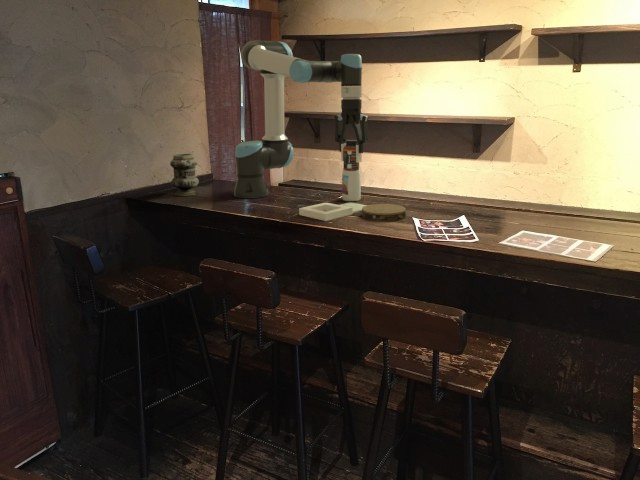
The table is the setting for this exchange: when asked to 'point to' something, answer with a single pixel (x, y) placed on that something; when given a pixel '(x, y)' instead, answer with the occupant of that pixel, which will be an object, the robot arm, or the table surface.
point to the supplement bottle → (350, 156)
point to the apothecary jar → (184, 173)
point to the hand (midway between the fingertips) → (351, 161)
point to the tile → (354, 206)
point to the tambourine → (383, 212)
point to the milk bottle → (351, 185)
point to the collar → (331, 211)
